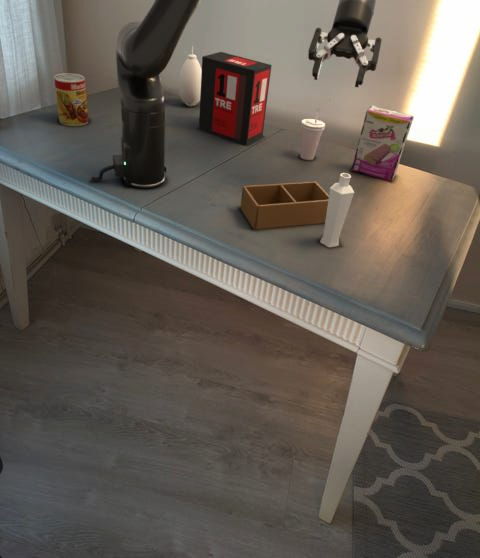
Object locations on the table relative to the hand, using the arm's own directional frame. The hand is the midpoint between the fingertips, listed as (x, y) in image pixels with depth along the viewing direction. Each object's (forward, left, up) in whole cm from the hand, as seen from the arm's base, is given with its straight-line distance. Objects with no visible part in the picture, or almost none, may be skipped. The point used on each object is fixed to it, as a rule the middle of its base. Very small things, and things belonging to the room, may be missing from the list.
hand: (336, 81), depth 103 cm
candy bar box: (+23, +10, -27) cm, 37 cm away
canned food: (-50, +53, -27) cm, 78 cm away
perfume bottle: (-5, -19, -27) cm, 33 cm away
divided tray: (-10, -7, -27) cm, 29 cm away
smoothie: (+9, +22, -27) cm, 36 cm away
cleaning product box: (-7, +41, -27) cm, 50 cm away
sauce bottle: (-13, +65, -27) cm, 72 cm away
